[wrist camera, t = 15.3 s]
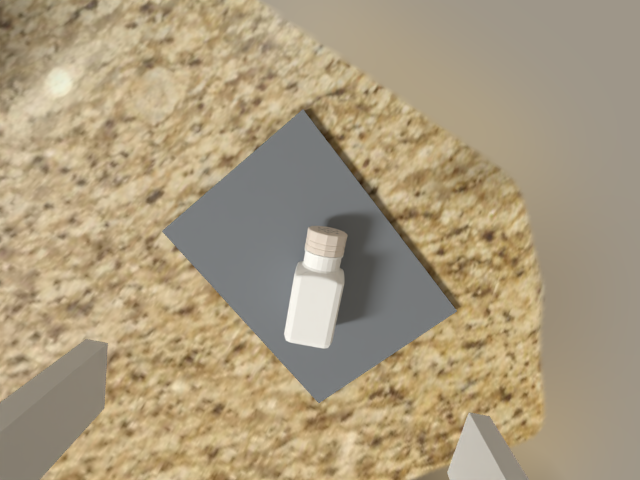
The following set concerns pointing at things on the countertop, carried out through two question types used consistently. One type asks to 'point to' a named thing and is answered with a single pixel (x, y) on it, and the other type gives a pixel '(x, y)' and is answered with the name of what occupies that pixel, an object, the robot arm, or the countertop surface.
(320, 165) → the rubber mat
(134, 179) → the countertop surface
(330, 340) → the salt shaker
